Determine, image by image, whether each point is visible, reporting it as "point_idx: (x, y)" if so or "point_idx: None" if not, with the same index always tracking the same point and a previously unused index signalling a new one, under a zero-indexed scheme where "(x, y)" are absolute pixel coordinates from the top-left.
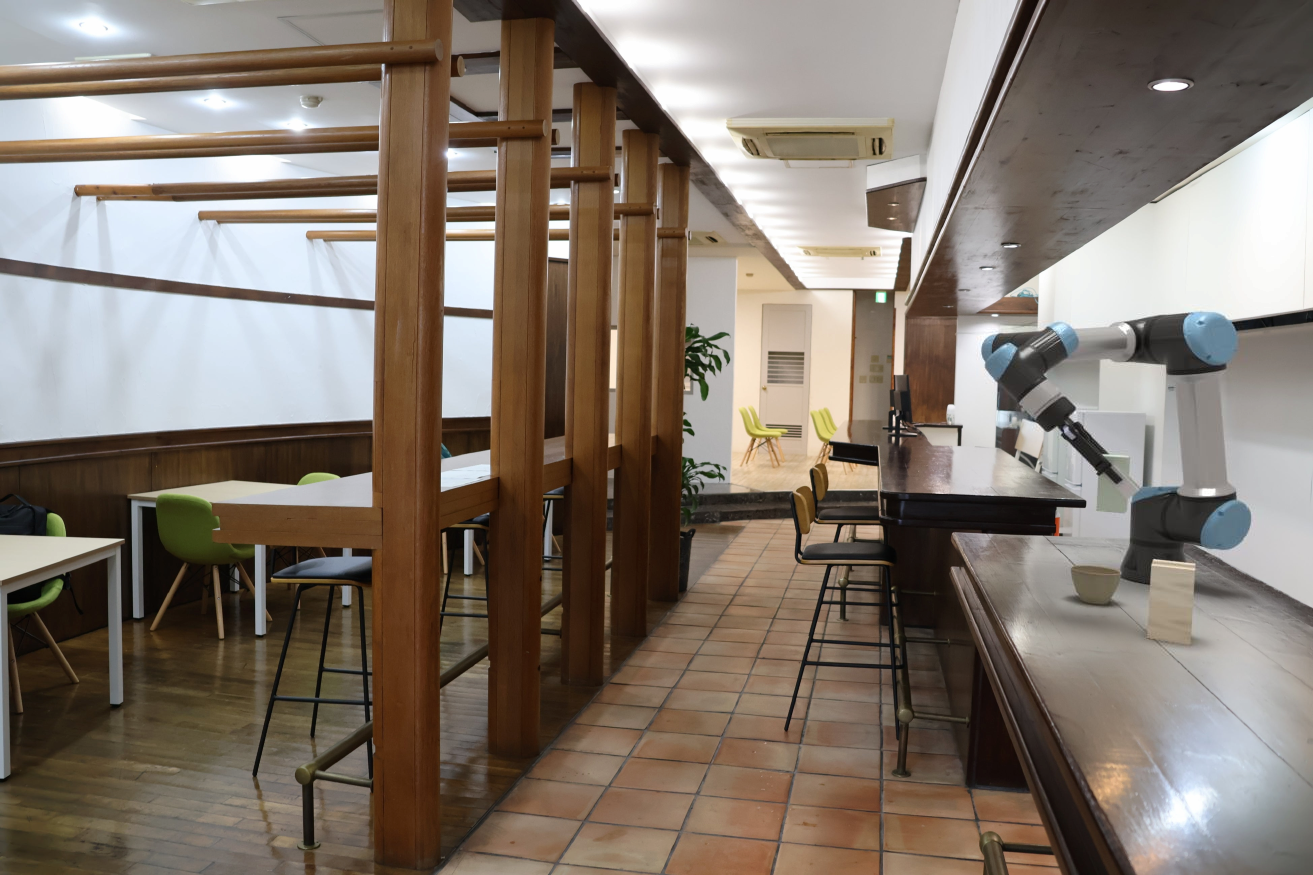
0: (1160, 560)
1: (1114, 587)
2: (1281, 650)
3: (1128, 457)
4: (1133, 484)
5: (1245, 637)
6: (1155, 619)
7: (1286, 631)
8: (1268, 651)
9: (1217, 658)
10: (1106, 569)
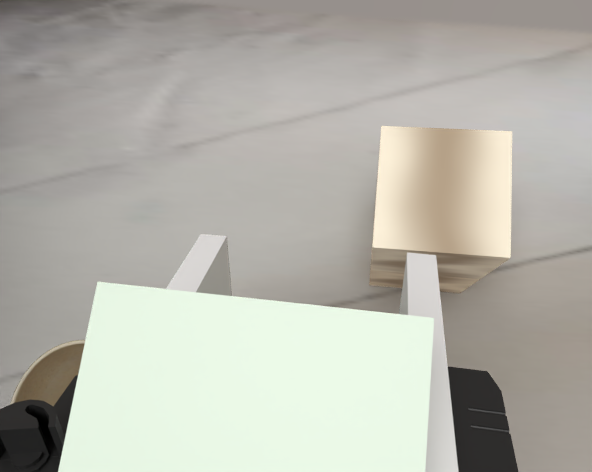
0: (385, 225)
1: None
2: (398, 50)
3: (336, 307)
4: (215, 281)
5: (324, 101)
6: None
7: (227, 30)
8: (422, 71)
9: (549, 162)
10: (27, 381)
